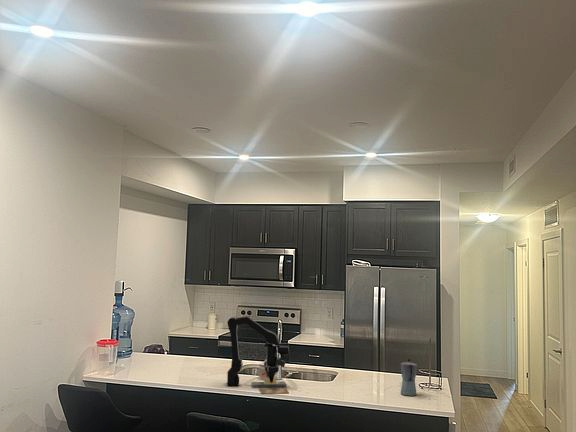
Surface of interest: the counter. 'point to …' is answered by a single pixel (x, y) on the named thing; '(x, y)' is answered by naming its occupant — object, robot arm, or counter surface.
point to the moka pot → (408, 378)
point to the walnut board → (274, 391)
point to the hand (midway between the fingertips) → (270, 381)
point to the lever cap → (269, 380)
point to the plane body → (268, 385)
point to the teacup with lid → (263, 371)
